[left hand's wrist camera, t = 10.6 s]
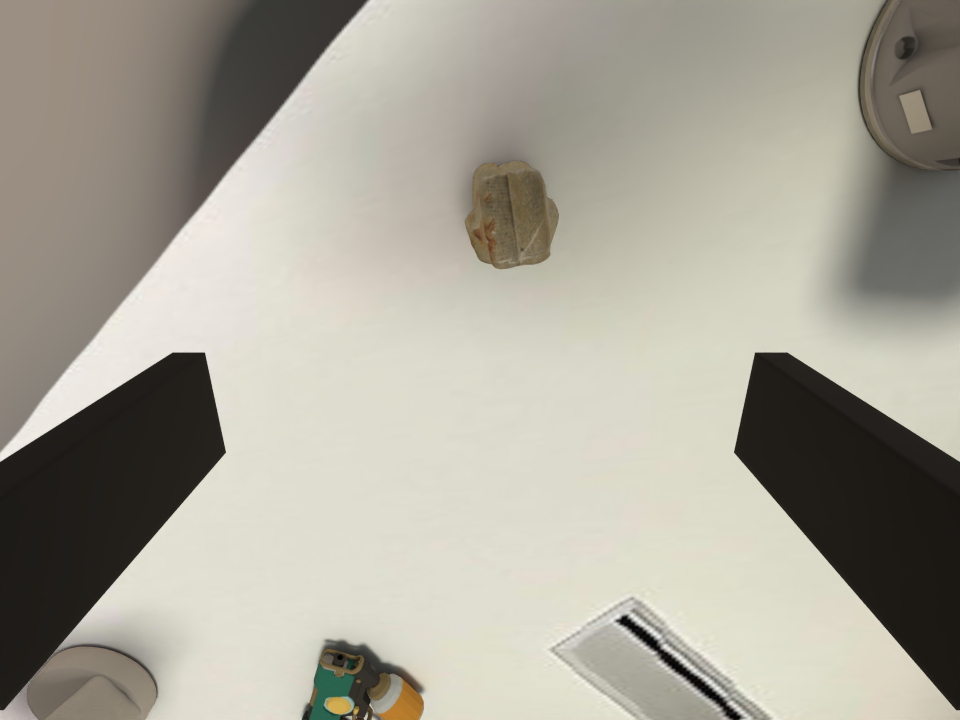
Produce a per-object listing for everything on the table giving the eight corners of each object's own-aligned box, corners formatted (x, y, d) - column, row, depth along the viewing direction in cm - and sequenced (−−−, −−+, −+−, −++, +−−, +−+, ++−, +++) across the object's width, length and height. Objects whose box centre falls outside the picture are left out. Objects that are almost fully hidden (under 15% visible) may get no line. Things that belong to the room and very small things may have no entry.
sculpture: (540, 158, 39) (574, 158, 25) (543, 253, 42) (575, 301, 28) (464, 164, 39) (456, 167, 25) (472, 258, 42) (468, 308, 28)
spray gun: (378, 752, 66) (273, 703, 63) (448, 685, 60) (336, 627, 57) (369, 791, 62) (257, 740, 59) (443, 723, 56) (322, 663, 53)
